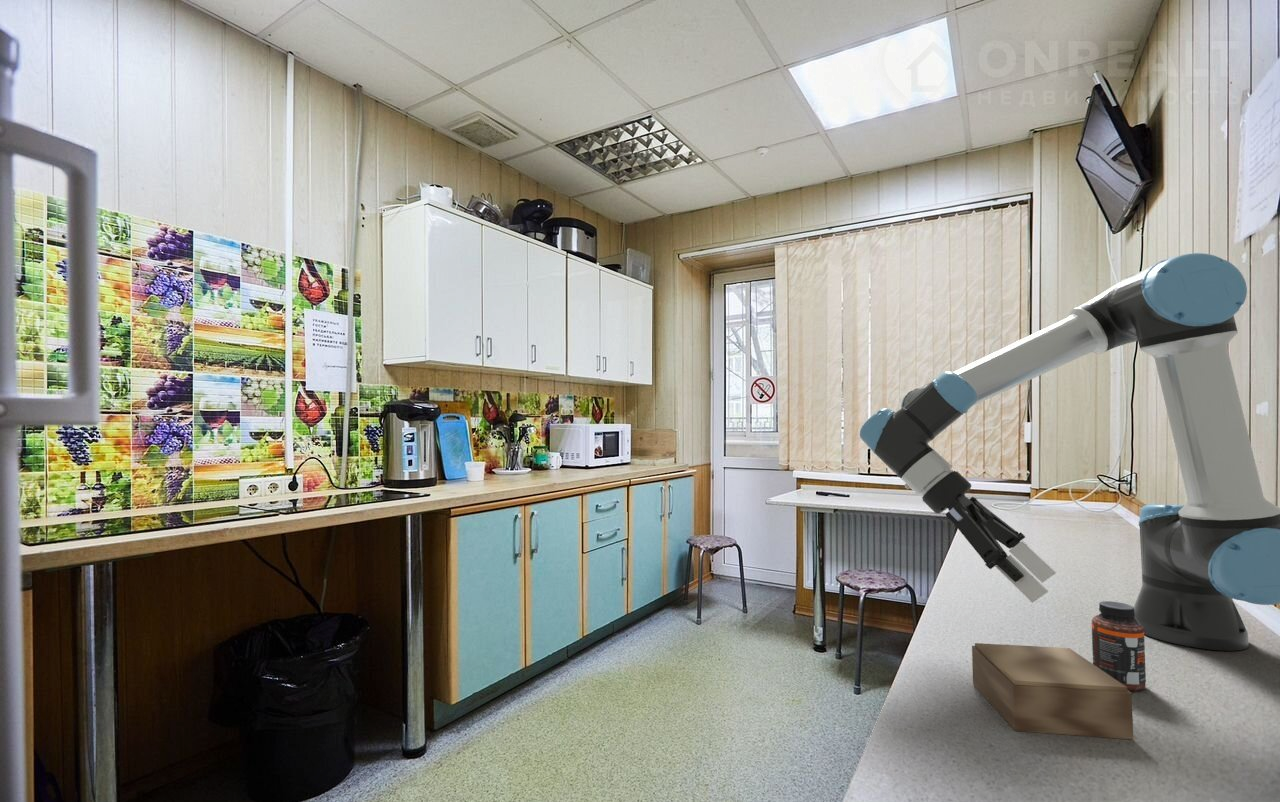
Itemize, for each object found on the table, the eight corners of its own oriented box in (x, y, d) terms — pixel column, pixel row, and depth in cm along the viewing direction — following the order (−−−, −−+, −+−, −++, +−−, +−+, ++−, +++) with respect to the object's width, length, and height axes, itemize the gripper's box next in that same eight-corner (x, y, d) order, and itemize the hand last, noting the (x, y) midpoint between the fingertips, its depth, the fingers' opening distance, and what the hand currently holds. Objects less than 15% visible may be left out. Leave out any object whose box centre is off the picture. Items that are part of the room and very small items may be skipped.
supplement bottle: (1150, 696, 80) (1147, 613, 81) (1096, 686, 84) (1093, 606, 84) (1141, 680, 86) (1138, 602, 86) (1090, 671, 89) (1088, 596, 89)
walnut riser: (1071, 690, 82) (1070, 647, 83) (1133, 739, 70) (1131, 688, 70) (972, 684, 85) (971, 642, 85) (1014, 730, 72) (1013, 681, 72)
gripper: (938, 491, 112) (1034, 583, 101) (899, 505, 92) (1013, 621, 82) (968, 464, 108) (1071, 557, 98) (935, 473, 89) (1058, 590, 79)
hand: (1045, 586), depth 90 cm, fingers open, 13 cm apart
